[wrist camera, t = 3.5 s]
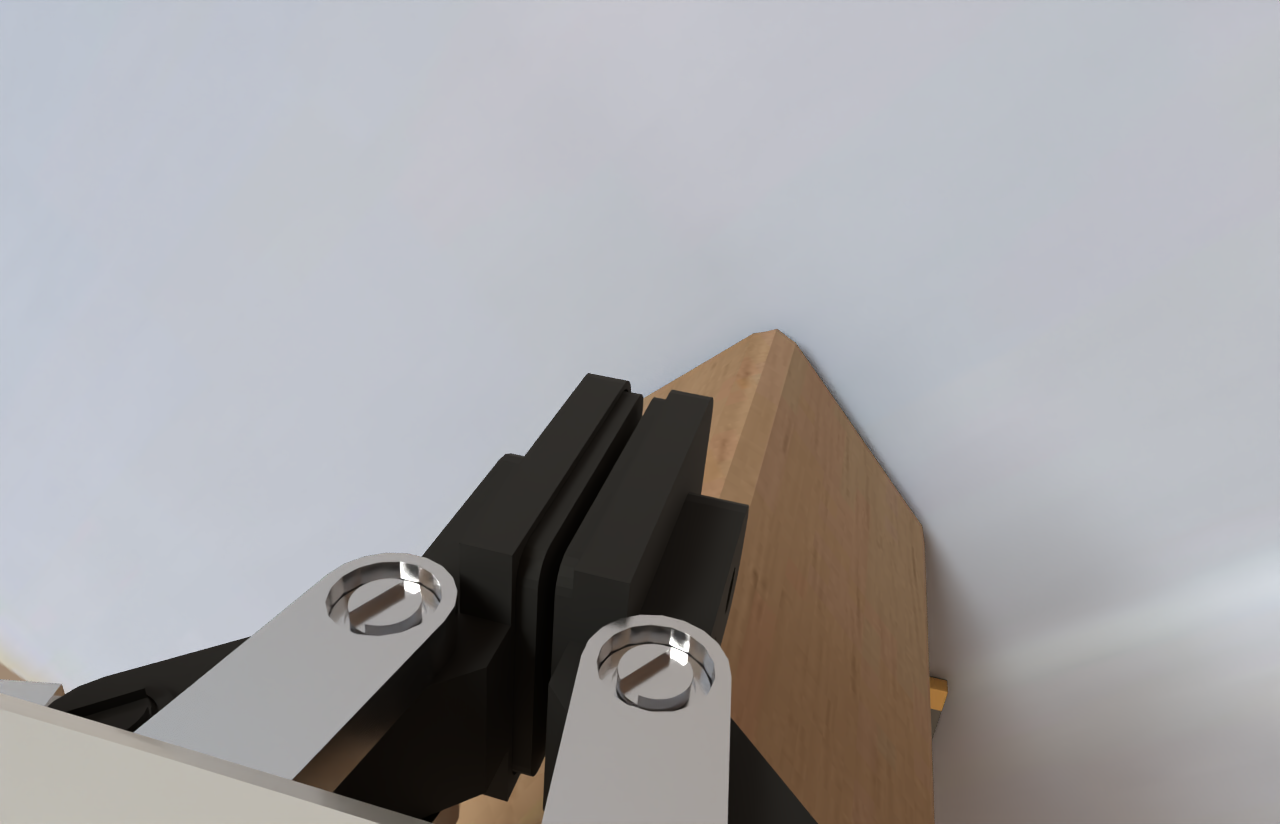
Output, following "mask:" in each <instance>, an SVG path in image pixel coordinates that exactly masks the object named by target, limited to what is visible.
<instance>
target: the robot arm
mask: <svg viewBox="0 0 1280 824" xmlns="http://www.w3.org/2000/svg"><path fill="white" fill-rule="evenodd" d="M712 413H713V397H708V396H703V395H698V394H692V393H687V392H682V391H677V390H671V391H670V392H669V394H668V396H667V398H666V399H662V398H657V397H653V399H652V400H651V402H650V404H649V405H648V407H647V409H646V411H645V412H644V414H643V395H642V394H636V393H631V385H630V382H629V381H626V380H621V379H615V378H610V377H605V376H600V375H595V374H590V373H588V374H587V375H586V376H585V377H584V378H583V380H582V381H581V382H580V384H579V385H578V386H577V388H576V389H575V390H574V392H573V393H572V394H571V395H570V397H569V398H568V399H567V401H566V402H565V403H564V405H563V406H562V407H561V409H560V410H559V411H558V413H557V414H556V415H555V417H554V418H553V419H552V421H551V422H550V423H549V425H548V426H547V427H546V429H545V430H544V431H543V432H542V434H541V435H540V436H539V438H538V439H537V440H536V442H535V443H534V444H533V446H532V447H531V448H530V450H529V451H528V452H527V454H526V455H525V456H520V455H515V454H505V455H504V456H503V457H502V458H501V459H500V460H499V461H498V462H497V463H496V465H495V466H494V467H493V468H492V470H491V471H490V472H489V473H488V475H487V476H486V477H485V478H484V480H483V481H482V482H481V483H480V485H479V486H478V487H477V488H476V490H475V491H474V492H473V493H472V495H471V496H470V497H469V498H468V500H467V501H466V502H465V503H464V505H463V506H462V507H461V508H460V510H459V511H458V512H457V513H456V514H455V516H454V517H453V518H452V519H451V521H450V522H449V523H448V524H447V526H446V527H445V528H444V529H443V531H442V532H441V533H440V534H439V536H438V537H437V538H436V539H435V541H434V542H433V543H432V544H431V546H430V547H429V548H428V549H427V551H426V552H425V553H424V554H423V556H422V557H421V556H417V555H412V554H408V553H382V554H376V555H370V556H364V557H361V558H359V559H356V560H353V561H350V562H347V563H345V564H343V565H341V566H340V567H338V568H337V569H335V570H333V571H332V572H330V573H329V574H327V575H326V576H325V577H323V578H322V579H321V580H320V581H319V582H317V583H316V584H315V585H314V586H312V587H311V588H310V589H309V590H308V591H306V592H305V593H304V594H303V595H301V596H300V597H299V598H298V599H296V600H295V601H294V602H293V603H292V604H290V605H289V606H288V607H287V608H285V609H284V610H283V611H282V612H281V613H279V614H278V615H277V616H276V617H274V618H273V619H272V620H271V621H269V622H268V623H267V624H266V625H265V626H263V627H262V628H261V629H260V630H258V631H257V632H256V633H255V634H254V635H252V636H251V637H247V638H244V639H240V640H236V641H233V642H229V643H225V644H222V645H218V646H215V647H211V648H207V649H204V650H200V651H196V652H193V653H189V654H186V655H182V656H178V657H175V658H171V659H168V660H164V661H160V662H157V663H153V664H149V665H146V666H142V667H139V668H135V669H131V670H128V671H124V672H120V673H117V674H113V675H110V676H106V677H103V678H100V679H98V680H95V681H92V682H90V683H87V684H84V685H81V686H79V687H77V688H75V689H73V690H72V691H70V692H68V693H67V694H65V693H64V690H63V687H62V684H56V683H42V682H29V681H14V680H1V679H0V824H456V823H457V821H458V819H459V813H460V805H461V803H462V802H464V801H467V800H469V799H472V798H474V797H477V796H479V795H482V794H483V795H486V796H489V797H493V798H496V799H500V800H503V801H506V802H508V800H509V797H510V795H511V793H512V791H513V789H514V787H515V785H516V782H517V780H518V778H519V776H520V774H525V775H528V776H532V777H533V776H535V775H536V774H537V772H538V770H539V768H540V766H541V764H542V762H543V760H544V757H545V770H544V791H543V811H544V815H543V819H542V823H541V824H818V823H817V822H816V820H815V819H814V818H813V817H812V816H811V814H810V813H809V812H808V811H807V809H806V808H805V807H804V806H803V805H802V803H801V802H800V801H799V800H798V798H797V797H796V796H795V795H794V794H793V792H792V791H791V790H790V789H789V788H788V786H787V785H786V784H785V783H784V781H783V780H782V779H781V778H780V777H779V775H778V774H777V773H776V772H775V770H774V769H773V768H772V767H771V766H770V764H769V763H768V762H767V761H766V759H765V758H764V757H763V756H762V755H761V753H760V752H759V751H758V750H757V748H756V747H755V746H754V745H753V744H752V742H751V741H750V740H749V739H748V737H747V736H746V735H745V734H744V733H743V731H742V730H741V729H740V728H739V726H738V725H737V724H736V723H735V722H734V720H733V719H732V718H731V717H730V714H731V671H730V666H729V661H728V658H727V657H726V655H725V653H724V652H723V650H722V649H721V643H722V639H723V636H724V632H725V628H726V624H727V620H728V616H729V612H730V608H731V604H732V600H733V595H734V591H735V586H736V581H737V576H738V571H739V566H740V561H741V555H742V549H743V544H744V538H745V532H746V526H747V520H748V513H749V505H747V504H742V503H737V502H733V501H728V500H724V499H719V498H714V497H710V496H705V495H701V492H702V484H703V477H704V470H705V463H706V456H707V449H708V442H709V434H710V427H711V420H712ZM642 414H643V416H642Z"/></svg>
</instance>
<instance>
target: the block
mask: <svg viewBox="0 0 1280 824" xmlns="http://www.w3.org/2000/svg"><path fill="white" fill-rule="evenodd" d="M671 390H677V391H682V392H687V393H692V394H698V395H703V396H708V397H713V413H712V420H711V427H710V434H709V442H708V449H707V456H706V463H705V470H704V477H703V484H702V492H701V495H705V496H710V497H714V498H719V499H724V500H728V501H733V502H737V503H742V504H747V505H749V513H748V520H747V526H746V532H745V538H744V544H743V549H742V555H741V561H740V566H739V571H738V576H737V581H736V586H735V591H734V595H733V600H732V604H731V608H730V612H729V616H728V620H727V624H726V628H725V632H724V636H723V639H722V643H721V649H722V650H723V652H724V653H725V655H726V657H727V658H728V661H729V666H730V671H731V714H730V717H731V718H732V719H733V720H734V722H735V723H736V724H737V725H738V726H739V728H740V729H741V730H742V731H743V733H744V734H745V735H746V736H747V737H748V739H749V740H750V741H751V742H752V744H753V745H754V746H755V747H756V748H757V750H758V751H759V752H760V753H761V755H762V756H763V757H764V758H765V759H766V761H767V762H768V763H769V764H770V766H771V767H772V768H773V769H774V770H775V772H776V773H777V774H778V775H779V777H780V778H781V779H782V780H783V781H784V783H785V784H786V785H787V786H788V788H789V789H790V790H791V791H792V792H793V794H794V795H795V796H796V797H797V798H798V800H799V801H800V802H801V803H802V805H803V806H804V807H805V808H806V809H807V811H808V812H809V813H810V814H811V816H812V817H813V818H814V819H815V820H816V822H817V823H818V824H935V820H934V791H933V763H932V734H931V706H930V678H929V649H928V621H927V592H926V564H925V542H924V536H923V529H922V525H921V524H920V522H919V521H918V520H917V518H916V517H915V515H914V514H913V512H912V511H911V509H910V508H909V507H908V505H907V504H906V502H905V501H904V499H903V498H902V496H901V495H900V493H899V492H898V491H897V489H896V488H895V486H894V485H893V483H892V482H891V480H890V479H889V478H888V476H887V475H886V473H885V472H884V470H883V469H882V467H881V466H880V465H879V463H878V462H877V460H876V459H875V457H874V456H873V454H872V453H871V451H870V450H869V449H868V447H867V446H866V444H865V443H864V441H863V440H862V438H861V437H860V436H859V434H858V433H857V431H856V430H855V428H854V427H853V425H852V424H851V422H850V421H849V420H848V418H847V417H846V415H845V414H844V412H843V411H842V409H841V408H840V407H839V405H838V404H837V402H836V401H835V399H834V398H833V396H832V395H831V393H830V392H829V391H828V389H827V388H826V386H825V385H824V383H823V382H822V380H821V379H820V378H819V376H818V375H817V373H816V372H815V370H814V369H813V367H812V366H811V364H810V363H809V362H808V360H807V359H806V357H805V356H804V354H803V353H802V351H801V350H800V349H799V347H798V346H797V344H796V343H795V342H794V341H792V340H791V339H789V338H788V337H787V336H786V335H784V334H783V333H782V332H781V331H779V330H778V329H775V330H771V331H767V332H761V333H754V334H752V335H750V336H748V337H747V338H745V339H743V340H742V341H740V342H738V343H737V344H735V345H733V346H731V347H730V348H728V349H726V350H725V351H723V352H721V353H720V354H718V355H716V356H715V357H713V358H711V359H709V360H708V361H706V362H704V363H703V364H701V365H699V366H698V367H696V368H694V369H693V370H691V371H689V372H687V373H686V374H684V375H682V376H681V377H679V378H677V379H676V380H674V381H672V382H670V383H669V384H667V385H665V386H664V387H662V388H660V389H659V390H657V391H655V392H654V393H652V394H650V395H648V396H647V397H645V398H643V414H644V412H645V411H646V409H647V407H648V405H649V404H650V402H651V400H652V399H653V397H657V398H662V399H666V398H667V396H668V394H669V392H670V391H671ZM643 414H642V416H643ZM544 770H545V757H544V760H543V762H542V764H541V766H540V768H539V770H538V772H537V774H536V775H535V776H533V777H532V776H528V775H525V774H520V776H519V778H518V780H517V782H516V785H515V787H514V789H513V791H512V793H511V795H510V797H509V800H508V802H506V801H503V800H500V799H496V798H493V797H489V796H486V795H483V794H482V795H479V796H477V797H474V798H472V799H469V800H467V801H464V802H462V803H461V805H460V813H459V819H458V821H457V823H456V824H541V823H542V819H543V815H544V811H543V791H544Z"/></svg>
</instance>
